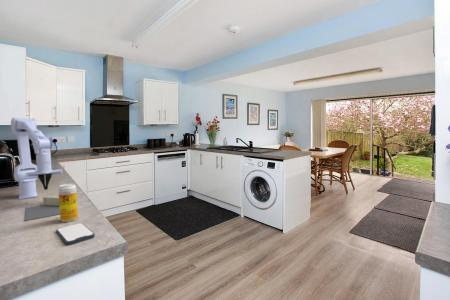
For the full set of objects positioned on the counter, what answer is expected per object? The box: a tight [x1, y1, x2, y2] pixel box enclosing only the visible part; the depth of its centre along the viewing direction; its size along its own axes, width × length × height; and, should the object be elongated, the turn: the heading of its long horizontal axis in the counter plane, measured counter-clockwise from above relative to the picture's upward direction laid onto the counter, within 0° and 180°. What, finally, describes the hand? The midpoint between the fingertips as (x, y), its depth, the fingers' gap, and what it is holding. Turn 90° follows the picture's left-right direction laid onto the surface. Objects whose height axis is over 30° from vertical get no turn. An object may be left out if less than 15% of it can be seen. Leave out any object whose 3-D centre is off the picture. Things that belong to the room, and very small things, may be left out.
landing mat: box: [24, 204, 60, 222], centre depth 109 cm, size 20×15×1 cm
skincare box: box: [42, 193, 60, 206], centre depth 117 cm, size 6×4×12 cm
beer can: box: [58, 183, 79, 223], centre depth 97 cm, size 6×6×15 cm
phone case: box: [55, 222, 96, 246], centre depth 84 cm, size 9×2×16 cm
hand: (45, 189), depth 117 cm, fingers closed
